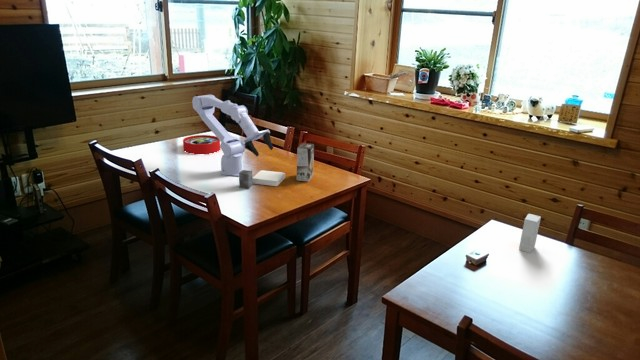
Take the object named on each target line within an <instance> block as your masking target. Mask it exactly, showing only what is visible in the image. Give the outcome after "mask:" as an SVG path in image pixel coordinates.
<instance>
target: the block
mask: <svg viewBox="0 0 640 360" xmlns="http://www.w3.org/2000/svg"><path fill="white" fill-rule="evenodd" d="M238 178H239V179H238V181H239V182H238V183H239V184H238V185H239V189H246V190H250V189H251V188H252V187H253V186H254V183H252V178H253V170H245V169H242V171H241V172H240V173H239V176H238Z"/></svg>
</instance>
